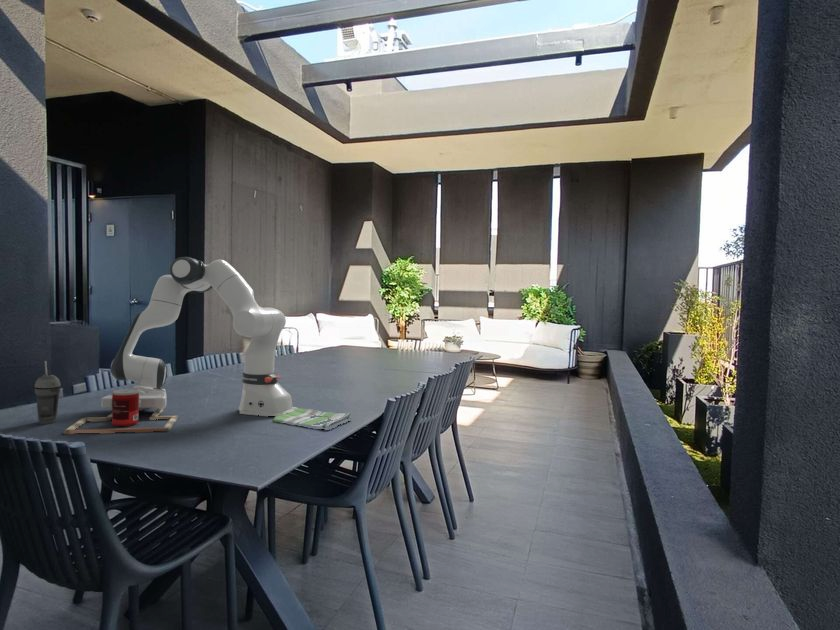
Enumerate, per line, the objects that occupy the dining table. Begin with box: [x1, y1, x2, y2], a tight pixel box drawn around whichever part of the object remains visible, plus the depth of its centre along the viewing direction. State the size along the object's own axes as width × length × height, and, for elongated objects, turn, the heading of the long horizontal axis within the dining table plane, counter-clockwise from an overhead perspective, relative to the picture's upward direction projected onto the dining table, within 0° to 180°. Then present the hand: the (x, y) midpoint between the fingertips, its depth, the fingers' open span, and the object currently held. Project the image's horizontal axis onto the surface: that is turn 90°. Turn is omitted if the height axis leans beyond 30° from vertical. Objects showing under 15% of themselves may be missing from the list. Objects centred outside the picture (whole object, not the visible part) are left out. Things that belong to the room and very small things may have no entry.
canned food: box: [111, 388, 140, 427], centre depth 173 cm, size 8×8×11 cm
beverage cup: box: [33, 360, 62, 425], centre depth 171 cm, size 7×7×20 cm
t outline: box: [62, 407, 179, 435], centre depth 178 cm, size 32×29×1 cm
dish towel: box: [271, 407, 352, 428], centre depth 187 cm, size 17×23×4 cm
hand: (129, 406), depth 177 cm, fingers closed, pressing on canned food
